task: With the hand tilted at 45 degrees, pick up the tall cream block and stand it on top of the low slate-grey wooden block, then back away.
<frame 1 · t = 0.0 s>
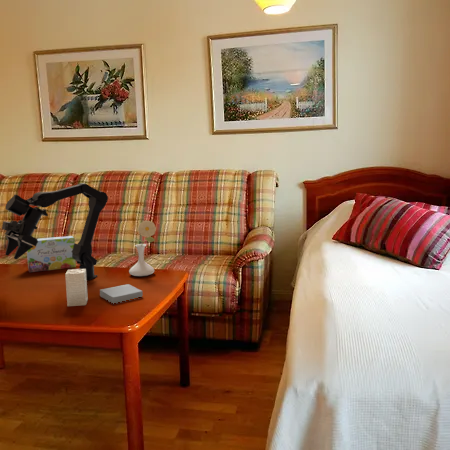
hand: (10, 257, 172), 15 cm above the table, tool tilted 35°, fingers open, 9 cm apart
snack box: (52, 269, 213), on the table
flower in vase: (143, 275, 201), on the table
cream block: (77, 302, 164), on the table
grey block: (121, 297, 170), on the table
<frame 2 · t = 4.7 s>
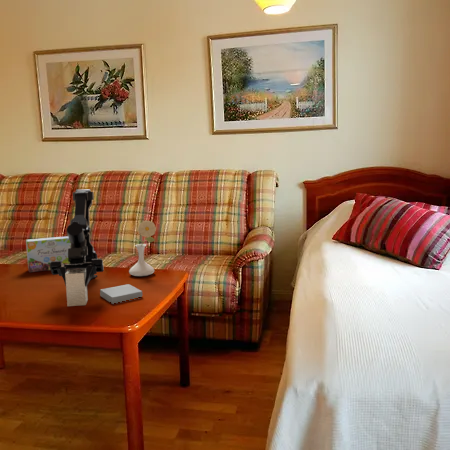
hand: (76, 286, 161), 7 cm above the table, tool tilted 45°, fingers closed on cream block, 6 cm apart
cream block: (77, 302, 163), on the table, touching gripper
everything else where it was.
when the fingers open (10 cm above the table, at t = 9.4 s): cream block drops 1 cm, point 2 cm above the table.
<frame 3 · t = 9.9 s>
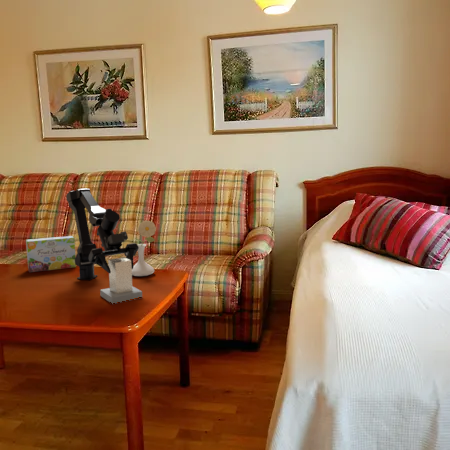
hand: (121, 270, 167), 11 cm above the table, tool tilted 45°, fingers open, 9 cm apart
cream block: (121, 290, 170), point 2 cm above the table
everything else where it was.
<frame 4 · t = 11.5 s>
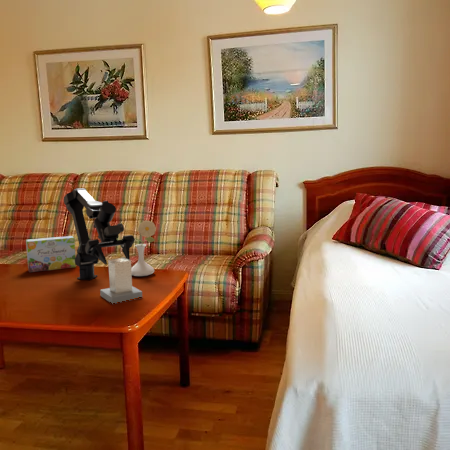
hand: (117, 262, 169), 13 cm above the table, tool tilted 45°, fingers open, 9 cm apart
cream block: (121, 290, 169), point 2 cm above the table, touching grey block
grey block: (121, 298, 170), on the table, touching cream block
everything else where it was.
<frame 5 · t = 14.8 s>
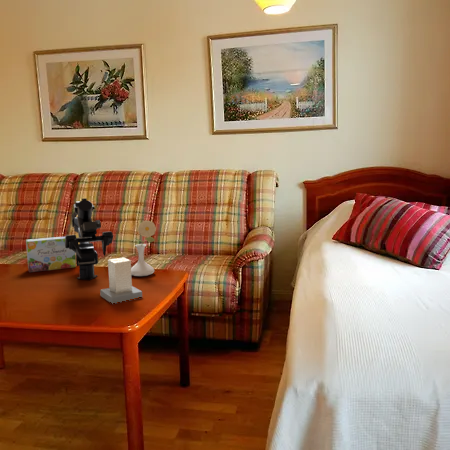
hand: (93, 256, 177), 14 cm above the table, tool tilted 45°, fingers open, 9 cm apart
nothing on the table moved.
at the end: cream block inside the target area on the grey block (0.0 cm from its centre), point 3.0 cm above the grey block's base; cream block tilted 0°; the gripper is holding nothing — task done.
